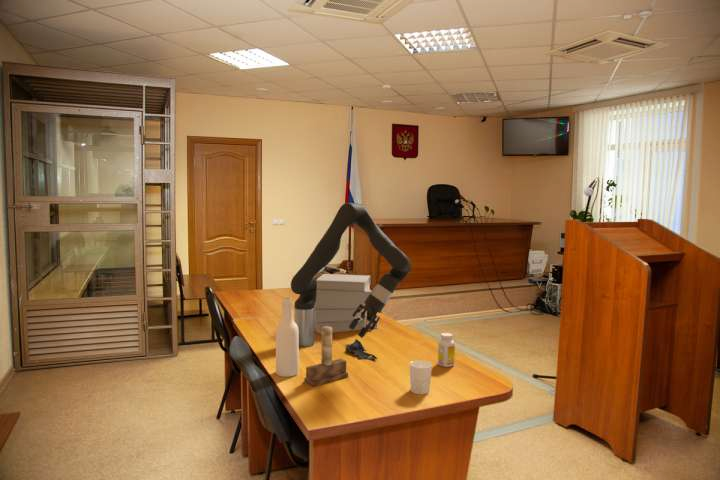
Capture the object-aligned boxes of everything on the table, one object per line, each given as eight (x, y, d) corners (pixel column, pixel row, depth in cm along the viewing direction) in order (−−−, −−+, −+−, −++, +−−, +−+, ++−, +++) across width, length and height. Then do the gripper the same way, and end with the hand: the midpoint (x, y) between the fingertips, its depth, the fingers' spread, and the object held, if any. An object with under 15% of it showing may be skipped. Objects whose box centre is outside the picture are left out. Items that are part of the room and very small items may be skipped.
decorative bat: (337, 334, 234) (357, 334, 237) (336, 343, 234) (356, 343, 237) (356, 354, 206) (379, 354, 209) (355, 364, 206) (378, 363, 209)
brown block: (312, 386, 182) (312, 370, 181) (304, 381, 187) (304, 366, 186) (348, 377, 192) (348, 361, 191) (339, 372, 196) (339, 357, 196)
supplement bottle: (455, 363, 209) (456, 333, 207) (452, 368, 202) (453, 337, 201) (439, 361, 211) (440, 331, 209) (436, 366, 204) (437, 335, 203)
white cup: (407, 386, 183) (407, 360, 182) (428, 386, 183) (429, 360, 182) (411, 395, 175) (411, 368, 174) (433, 395, 176) (434, 367, 175)
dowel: (319, 363, 189) (319, 327, 188) (328, 361, 191) (328, 325, 190) (325, 366, 186) (325, 329, 184) (334, 364, 188) (334, 328, 187)
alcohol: (273, 371, 197) (272, 296, 194) (294, 368, 200) (294, 295, 197) (279, 379, 189) (278, 301, 186) (301, 375, 192) (301, 299, 189)
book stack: (303, 321, 272) (303, 274, 269) (363, 316, 284) (363, 271, 281) (318, 336, 244) (318, 285, 241) (383, 330, 256) (384, 281, 253)
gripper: (363, 288, 201) (341, 321, 200) (380, 299, 189) (356, 335, 187) (376, 297, 205) (354, 330, 204) (393, 308, 192) (370, 343, 191)
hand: (355, 332), depth 195 cm, fingers open, 8 cm apart
